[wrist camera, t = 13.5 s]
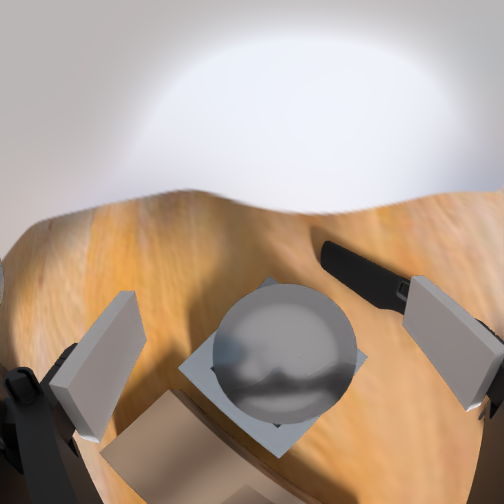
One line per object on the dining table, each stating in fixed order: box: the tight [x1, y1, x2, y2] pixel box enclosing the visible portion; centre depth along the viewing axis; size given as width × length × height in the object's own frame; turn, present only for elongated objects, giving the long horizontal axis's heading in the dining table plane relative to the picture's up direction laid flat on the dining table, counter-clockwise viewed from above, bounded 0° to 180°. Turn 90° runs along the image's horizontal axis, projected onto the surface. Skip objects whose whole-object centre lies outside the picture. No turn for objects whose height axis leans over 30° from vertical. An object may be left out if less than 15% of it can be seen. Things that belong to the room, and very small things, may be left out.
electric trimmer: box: [321, 241, 411, 315], centre depth 23 cm, size 4×16×3 cm, turn 57°
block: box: [178, 276, 368, 458], centre depth 19 cm, size 8×8×5 cm
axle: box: [212, 284, 357, 424], centre depth 14 cm, size 4×4×15 cm
